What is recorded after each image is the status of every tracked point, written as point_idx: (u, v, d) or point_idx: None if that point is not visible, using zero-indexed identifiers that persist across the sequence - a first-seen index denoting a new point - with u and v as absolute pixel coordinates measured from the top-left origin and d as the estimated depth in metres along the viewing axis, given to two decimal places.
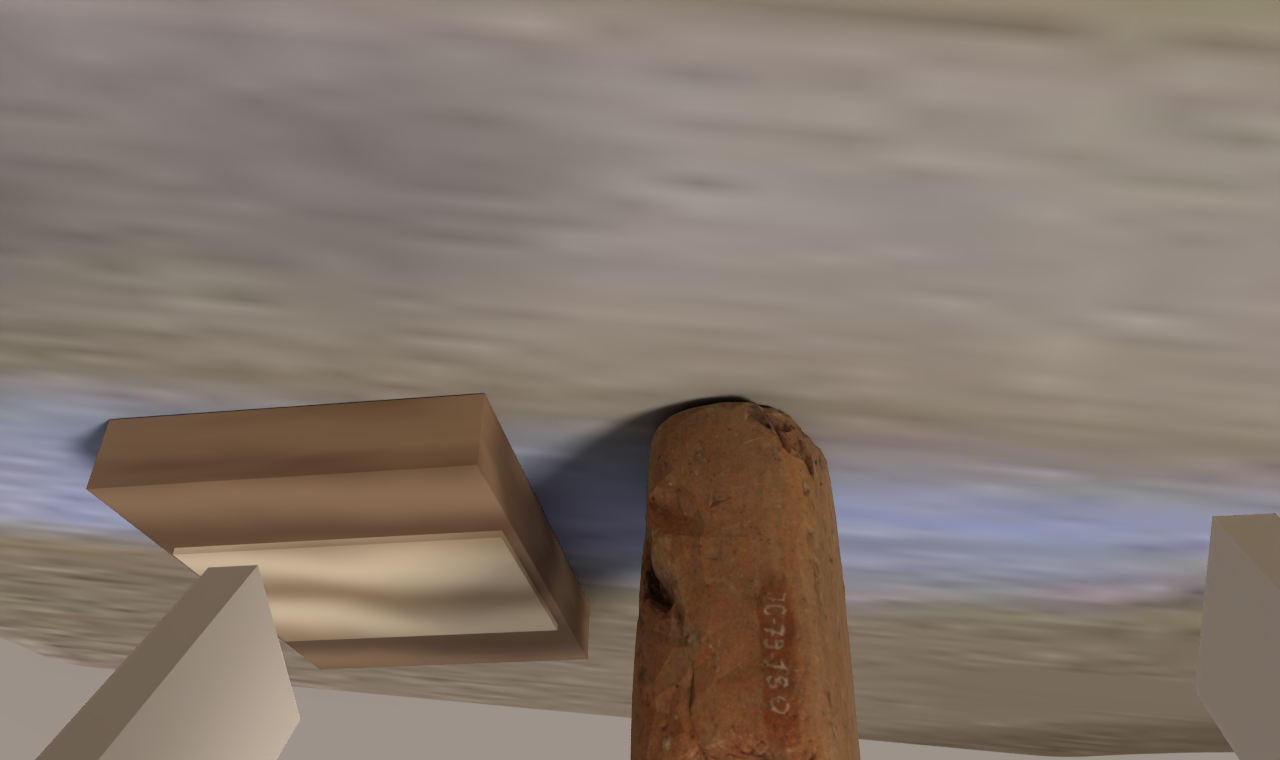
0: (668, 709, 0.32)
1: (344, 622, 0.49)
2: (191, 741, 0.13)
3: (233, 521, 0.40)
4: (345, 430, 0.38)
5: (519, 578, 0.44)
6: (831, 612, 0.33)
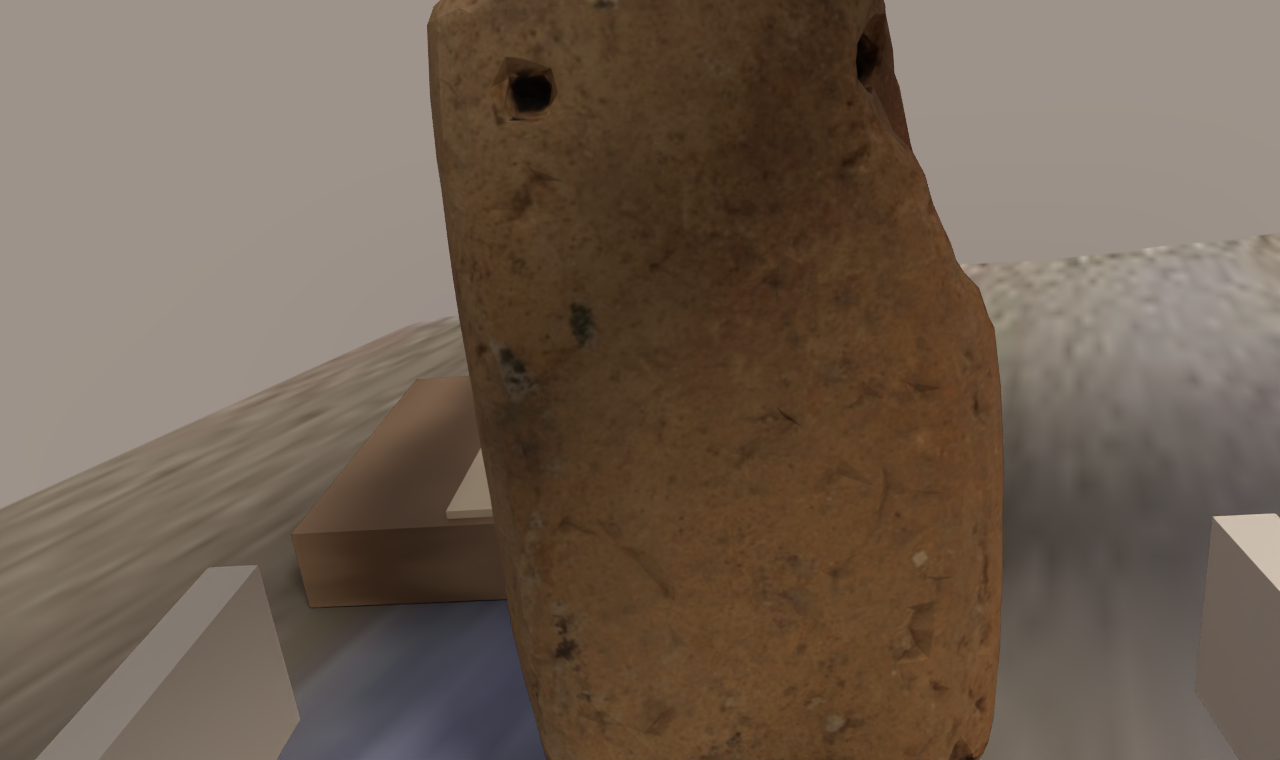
0: None
1: None
2: (191, 741, 0.13)
3: None
4: None
5: None
6: (958, 548, 0.20)
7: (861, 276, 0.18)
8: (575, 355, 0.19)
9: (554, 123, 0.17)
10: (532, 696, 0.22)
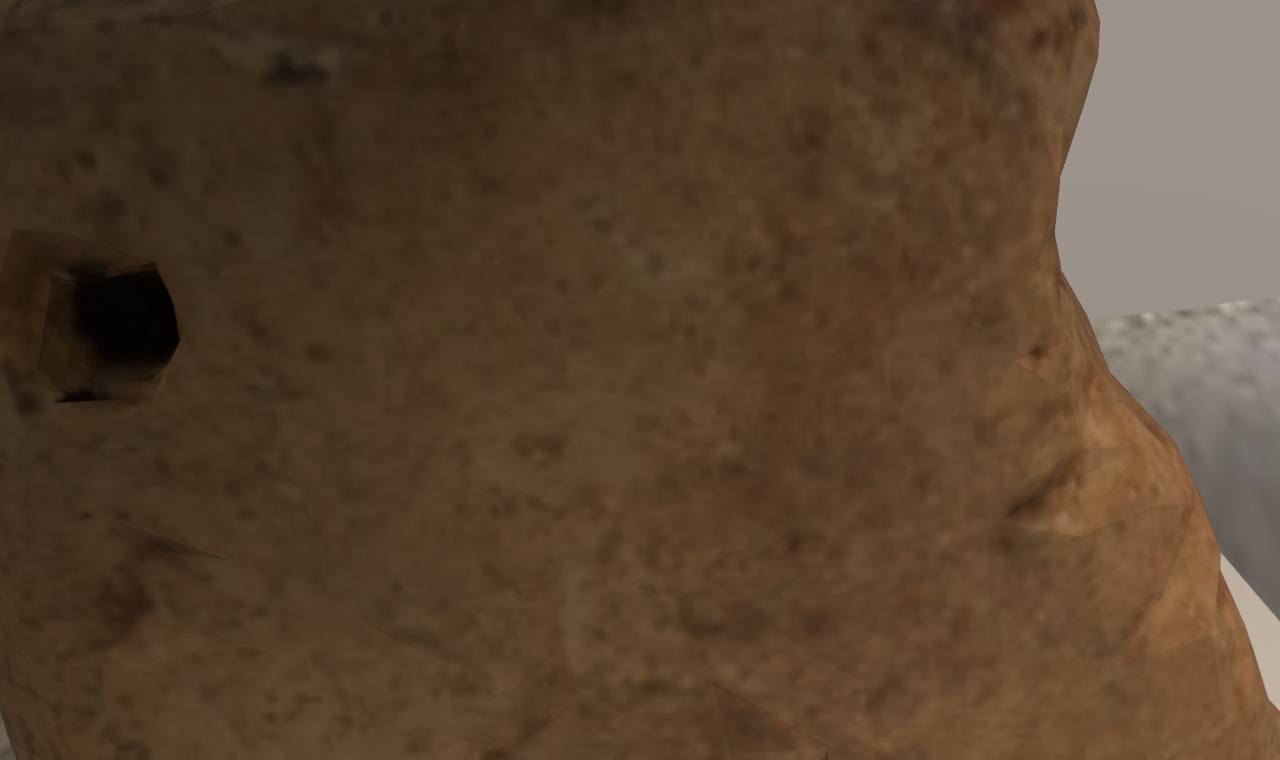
0: None
1: None
2: None
3: None
4: None
5: None
6: None
7: None
8: None
9: (183, 412, 0.06)
10: None
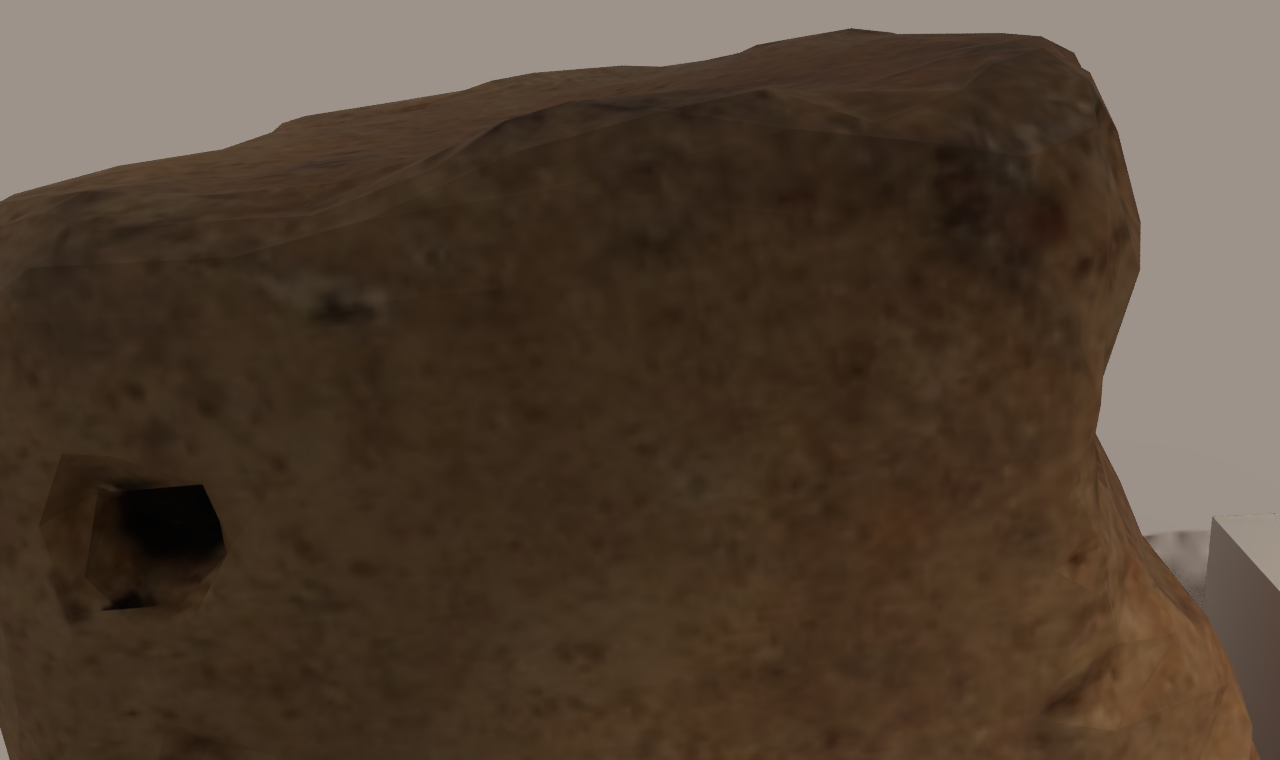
0: None
1: None
2: None
3: None
4: None
5: None
6: None
7: None
8: None
9: (230, 623, 0.06)
10: None
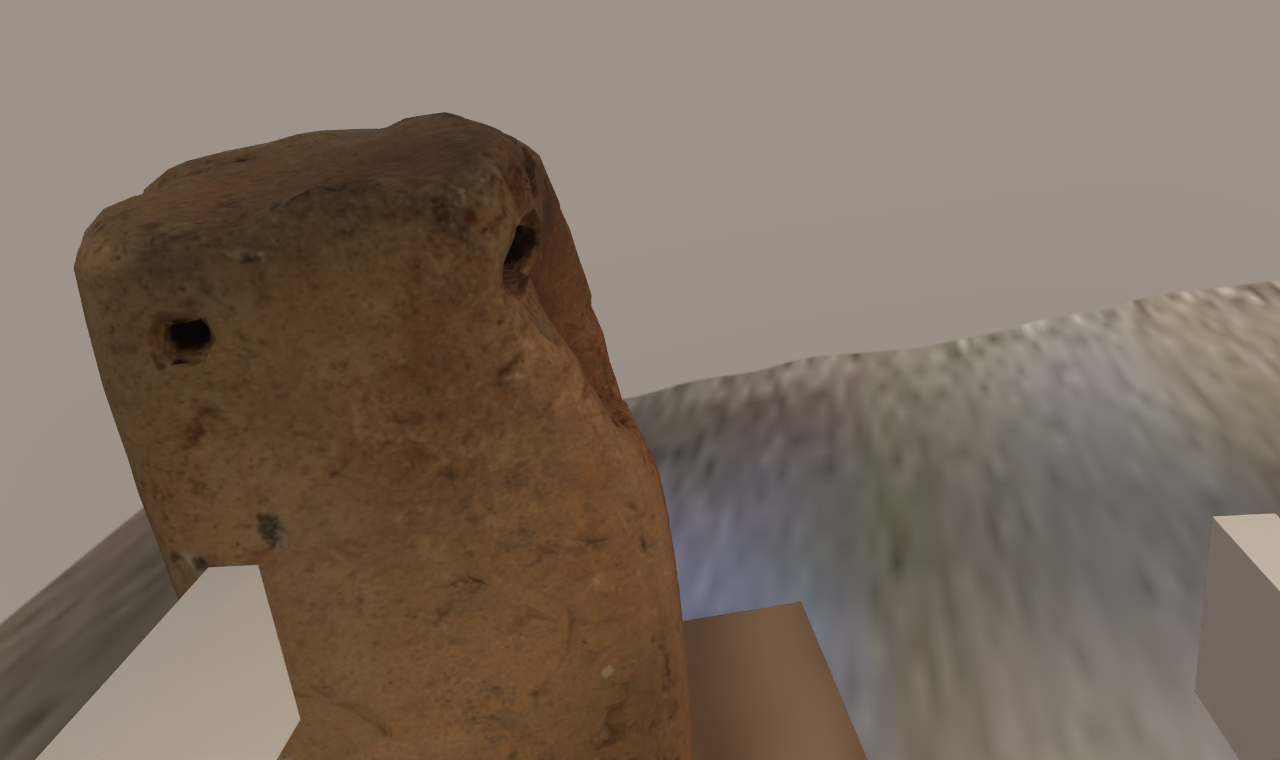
0: None
1: None
2: (191, 741, 0.13)
3: (735, 701, 0.33)
4: None
5: None
6: (639, 657, 0.23)
7: (527, 462, 0.20)
8: (267, 555, 0.20)
9: (217, 365, 0.18)
10: None
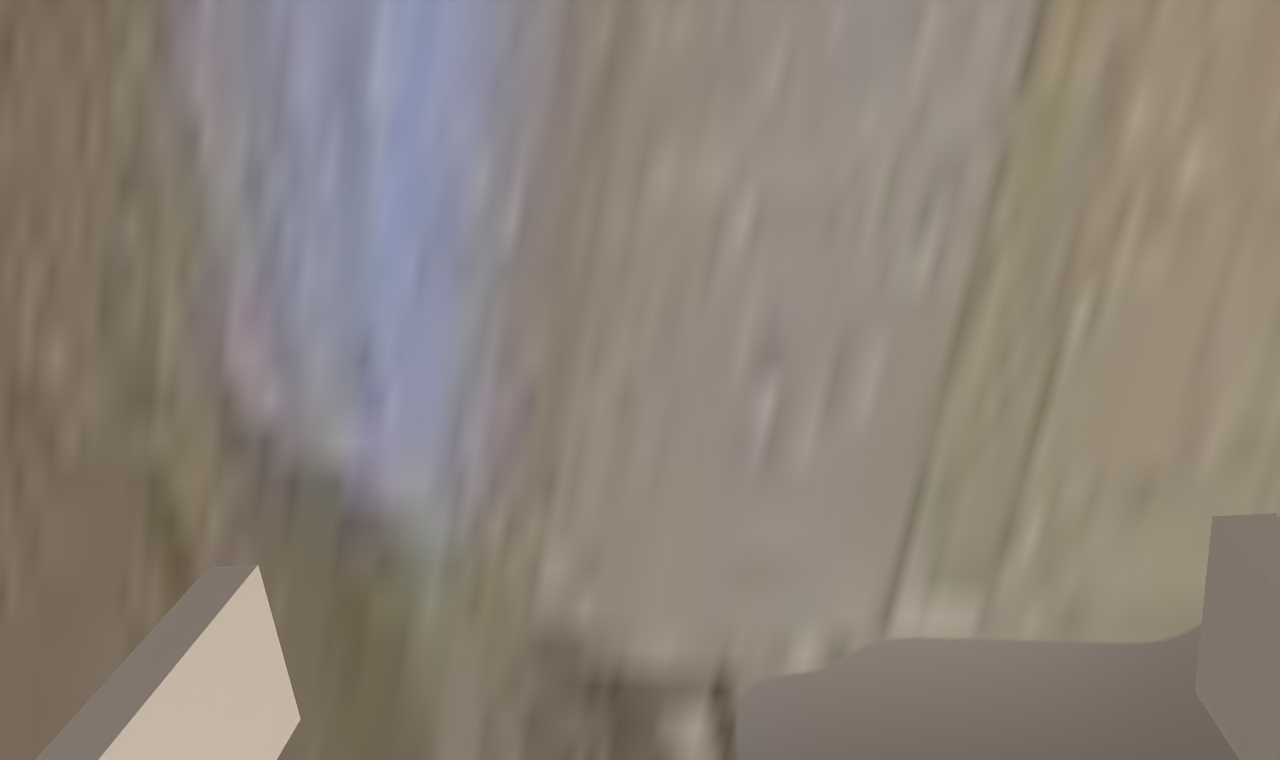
0: None
1: None
2: (191, 741, 0.13)
3: None
4: None
5: None
6: None
7: None
8: None
9: None
10: None
